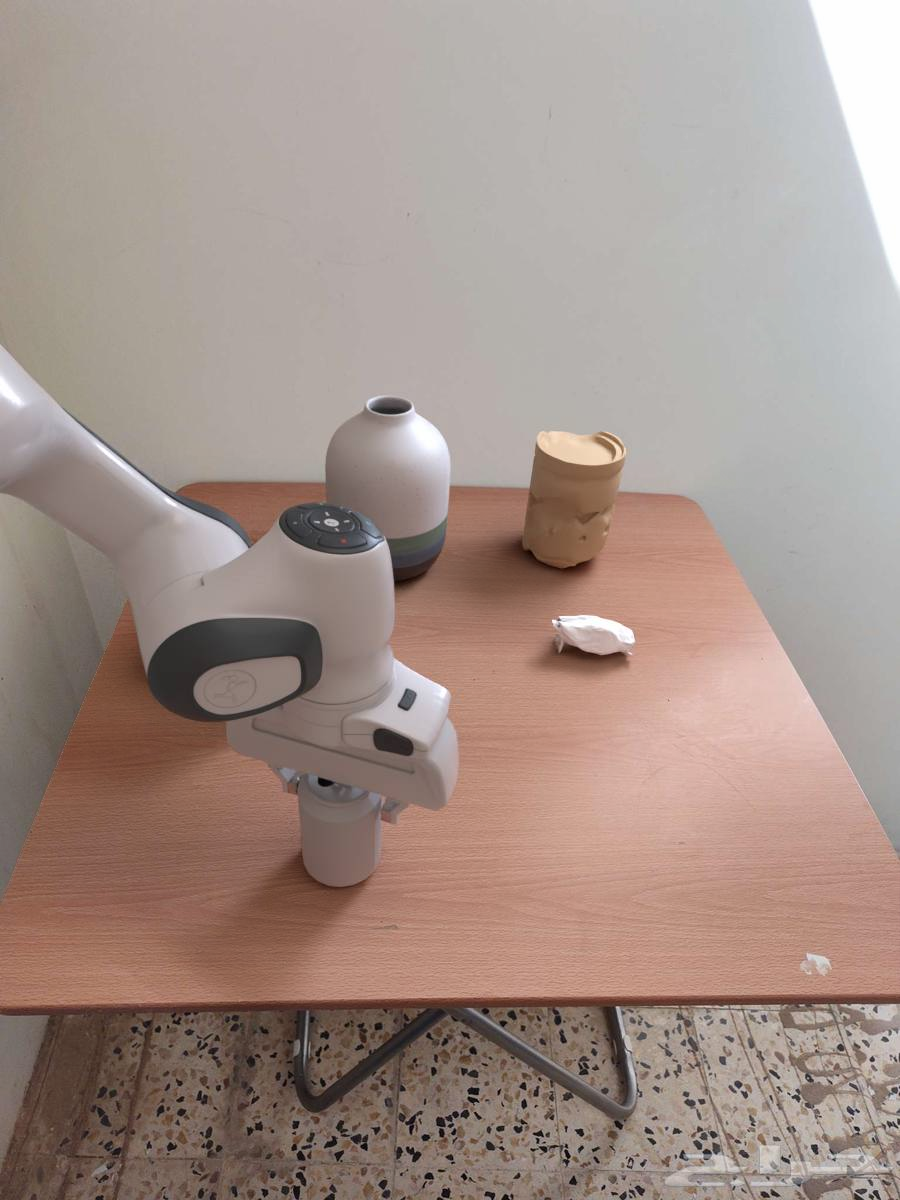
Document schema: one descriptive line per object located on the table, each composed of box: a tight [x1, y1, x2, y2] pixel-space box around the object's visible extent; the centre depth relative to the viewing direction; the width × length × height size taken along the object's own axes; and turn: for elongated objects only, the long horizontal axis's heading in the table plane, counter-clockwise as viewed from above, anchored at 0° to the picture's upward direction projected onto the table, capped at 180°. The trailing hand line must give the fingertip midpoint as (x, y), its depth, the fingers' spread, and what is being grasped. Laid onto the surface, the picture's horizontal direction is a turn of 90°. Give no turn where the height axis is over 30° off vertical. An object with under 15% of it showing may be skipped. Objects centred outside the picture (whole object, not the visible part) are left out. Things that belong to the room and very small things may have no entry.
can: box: [297, 773, 384, 888], centre depth 74 cm, size 8×8×12 cm
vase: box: [324, 394, 452, 582], centre depth 110 cm, size 17×17×24 cm
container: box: [521, 430, 627, 569], centre depth 117 cm, size 13×13×18 cm
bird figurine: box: [551, 614, 636, 657], centre depth 103 cm, size 5×7×10 cm
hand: (342, 802), depth 72 cm, fingers open, 8 cm apart
